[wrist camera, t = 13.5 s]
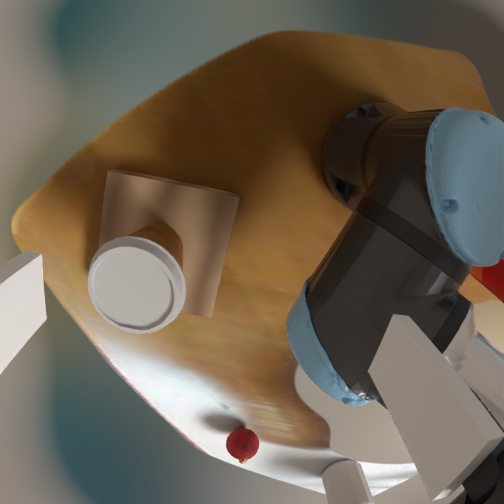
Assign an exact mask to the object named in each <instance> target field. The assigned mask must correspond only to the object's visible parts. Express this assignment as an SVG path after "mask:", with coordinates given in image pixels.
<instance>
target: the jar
mask: <svg viewBox="0 0 504 504" xmlns="http://www.w3.org/2000/svg"><path fill="white" fill-rule="evenodd" d="M321 476H322V480H323V484H324V488H325V492H326V496H327V500H328V504H374V500H373V498H372V495H371V492H370V489H369V486H368V484H367V481H366V478H365V475H364V473H363V470H362V467H361V464H360V463H357V462H355V461H353V460H342V461H339V462H336V463H334V464H332V465H330V466H328V467H327V468H326V470H325V471H324V472H323V474H322V475H321Z"/></svg>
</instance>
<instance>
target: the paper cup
mask: <svg viewBox="0 0 504 504" xmlns="http://www.w3.org/2000/svg"><path fill="white" fill-rule="evenodd" d="M470 274H471V275H472V276H473V277H474V278H475V279H476V280H478V281H479V282H480V283H481V284H482V285H483V286H485V287H486V288H487V289H488V290H489V291H490V292H492V293H493V294H494V295H495V296H496V297H497V298H499V299H500V300H501V301H502V302H503V303H504V259H501V258H500V259H499V262H498V263H497V264H495V265H493V266H488V267H480V266H479V267H475V266H473V268H472V269H471V271H470Z"/></svg>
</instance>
